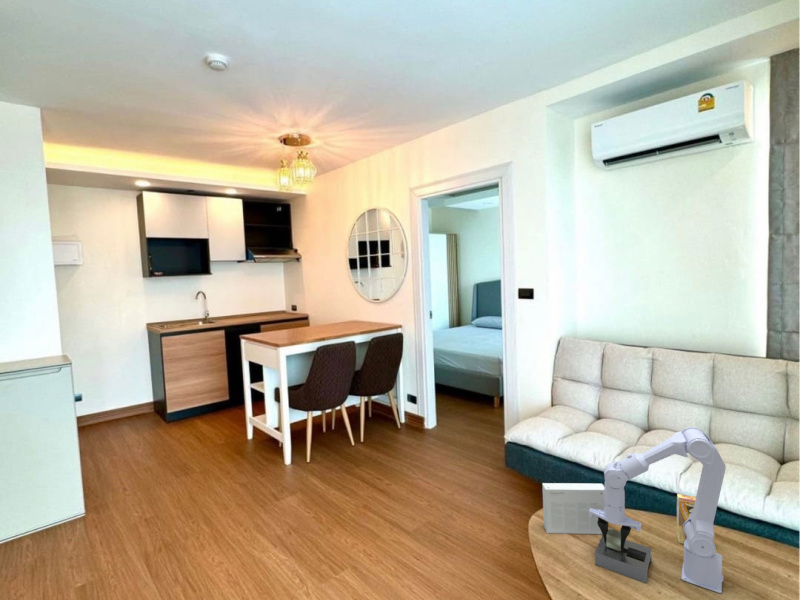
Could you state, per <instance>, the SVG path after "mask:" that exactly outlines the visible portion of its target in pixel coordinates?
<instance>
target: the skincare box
mask: <svg viewBox="0 0 800 600" xmlns="http://www.w3.org/2000/svg"><path fill="white" fill-rule="evenodd" d="M604 487H605V485H604V484H603V483H588V482H587V483H579V482H578V483H577V482H575V483H574V482H573V483H570V482H567V483H566V482H565V483H564V482H561V483H560V482H559V483H557V482H553V483H552V482H551V483H550V482H548V483H547V482H542V512H543V513H542V515H543V518H542V519H543V527H544V529H545V532H546V534H567V535H569V534H575V535H576V534H577V535H579V534H580V535H582V534H583V535H603V534H602V532H601V530H600V528H599V526H598V524H597V522H598V518H597V517H590V516H589V510H590V508H592V509H597V510H604Z"/></svg>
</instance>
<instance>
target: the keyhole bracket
mask: <svg viewBox="0 0 800 600" xmlns="http://www.w3.org/2000/svg"><path fill="white" fill-rule="evenodd" d="M652 551H653V548H652V547H649V546H647V545H643V544H640V543H637V542H634V541H631V540H627V539H626V540H625V545H624V549H621V552H620V551H617V550H614V549H611V548H610V547H607V544H606V543H605V541H604V537H603V534H601V538H600V540H599V542H598V544H597V547H596V549H595V552H594V565H595V566H598V567H600V566H601V567H600V568H603V569H606V570H609V571H612V572H614V573H617V574H619V575H623V576H625V577H628V578H630V579H633V580H636V581H639V582H642V583H643V584H647V583H648V569H649V564H652V560H653V556H652V555H653V552H652Z"/></svg>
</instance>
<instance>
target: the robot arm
mask: <svg viewBox="0 0 800 600" xmlns="http://www.w3.org/2000/svg"><path fill="white" fill-rule="evenodd" d="M688 454H689V455H690V456H691V457H692V458H693V459H695V460H697V461H698V462H700V463H701V464H702V469H701V473H700V477H699V481H698V487H697V490H696V491H697V492H696V496H695V497H696V499H695V504H694V509H693V512H692V513H690V515H689V518H688V520H687V521H685V523H684V524H683V530H684V532H685V534H686V536H687V538H686V540H685V542H684V544H683V563H682V568H681V576H680V577H681V578H680V579H681V580H682V581H684V582H687V583H689V584H692V585H695V586H698V587H701V588H704V589H707V590H709V591H713V592H715V593H717V594H718V593H719V594H722V592H723V591H722V590H723V588H722V587H723V582H724V575H723V555H722V554H720V553H718V552H716V545H715V541H714V540H715V530H714V529H715V528H714V527H715V526H714V521H715V516H716V512H717V508H718V504H719V500H720V495H721V491H722V486H723V481H724V479H725V473H726V470H727V468H726V467H727V466H726V464H725V462H724V460H723V458H722V456H721V454H720V453H719V450H718V448H717V447H716V445H714V443H713V442H712V440H711V438H710V437H709V436H708V435H707V434H706V433H705V432H704V431H702V429H700V428H698V427H693V426H689V427H686V428H684V429H682V430H681V431H680V430H679V431H677V432H675V433H674V434H673V435H671V436H670V437H668V438H666V439H665V440H664V441H662V442H660V443H658V444H657V445H655V446H653V447H652V448H650V449H648V450H646V451H644V452H643V453H639V452H634V453H631V452H629V453H627V454H626V457H624V458H622V459H621V460H618V461H616V460H615V461H614V462H613V463H612V462H611V463H608V464H606V465H605V466H604V469H603V475H604V510H597V509H592V508H590V510H589V516H590V517H597V518H598V522H597V524H598V526H599V528H600V530H601V532H602V534H601V535H603V537H604V541H605V543H606V544H607V532H608V530H609V524H613V525H618V526H621V527H620V530H619V531H620V532H621V549H624V545H625V540H627V538H628V537H629V534H630V533H631V530H632V529H633V530H636V532H641V531H642V523H641V522H640V521H637V520H634V519H632V518H630V517H629V516H626V515H625V513H626V511H625V509H626V508H625V505H626V504H625V503H626V501H625V498H626V495H625V494H626V493H625V492H626V491H625V486H626V483H627V481H630V480H632V479H634V478H637V477H638V476H640V475H642V474H644V473H646V472H648V471H649V468H650V466H651V465H653V464H655V463H657V462H659V461H662V460H664V459H666V458H668V457H672V456H674V455H678V456H680V457H684V458H689V456H688Z"/></svg>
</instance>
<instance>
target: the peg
mask: <svg viewBox="0 0 800 600" xmlns="http://www.w3.org/2000/svg"><path fill="white" fill-rule="evenodd" d="M607 547H610V548H611V549H614V550H617V551H620V552H621V531H620V530H617V529H613V528H611V527H608V532H607Z"/></svg>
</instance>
